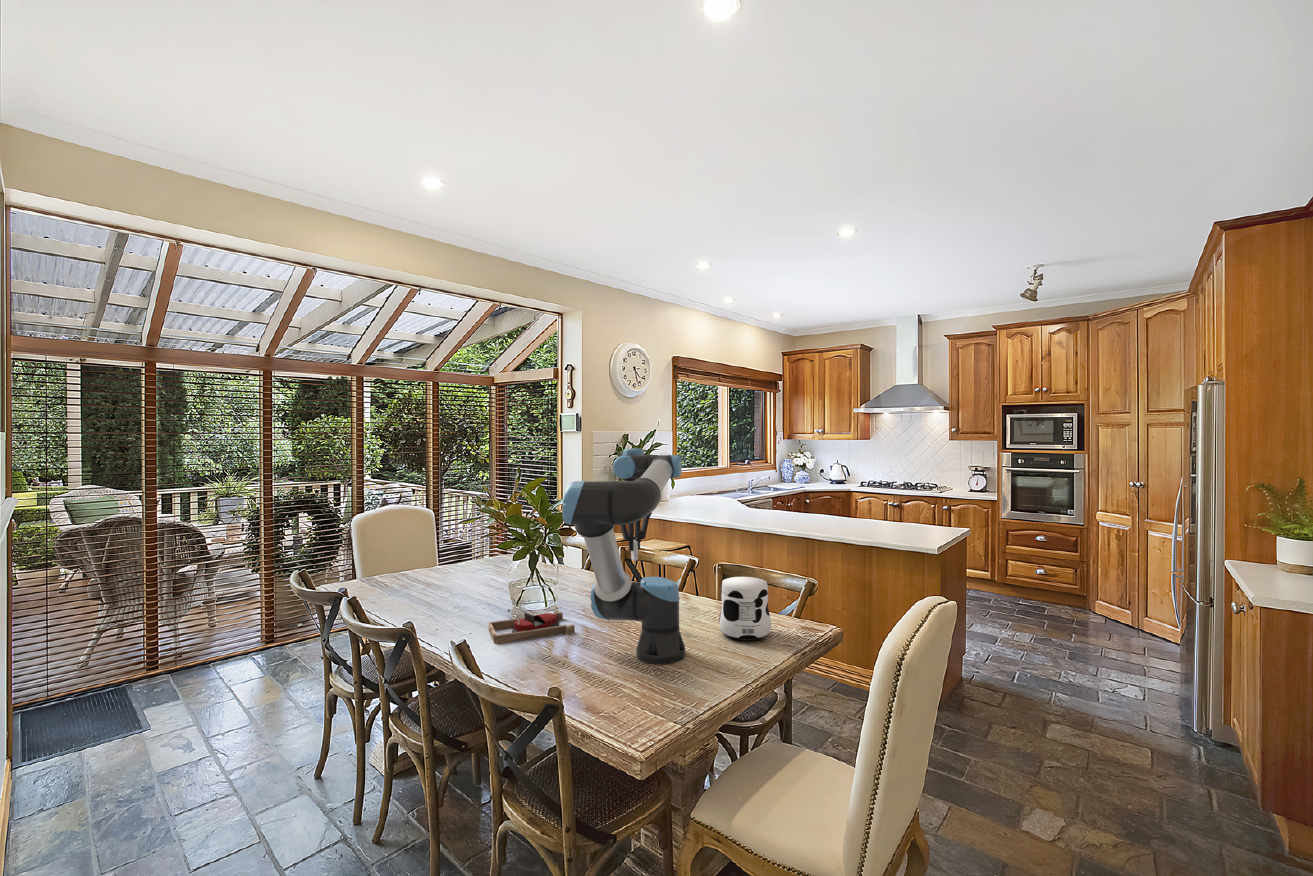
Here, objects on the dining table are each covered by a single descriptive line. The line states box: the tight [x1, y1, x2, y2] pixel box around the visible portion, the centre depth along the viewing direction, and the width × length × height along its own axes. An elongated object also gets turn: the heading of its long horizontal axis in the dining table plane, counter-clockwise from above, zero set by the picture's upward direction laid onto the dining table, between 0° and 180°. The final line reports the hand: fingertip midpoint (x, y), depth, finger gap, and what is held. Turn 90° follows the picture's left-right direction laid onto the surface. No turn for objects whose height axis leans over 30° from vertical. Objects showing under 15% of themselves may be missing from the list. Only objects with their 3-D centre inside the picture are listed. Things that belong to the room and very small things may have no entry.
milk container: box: [718, 576, 772, 641], centre depth 194 cm, size 17×17×18 cm
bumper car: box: [507, 608, 560, 633], centre depth 201 cm, size 10×20×10 cm, turn 138°
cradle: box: [488, 611, 576, 645], centre depth 201 cm, size 19×27×2 cm
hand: (634, 559), depth 202 cm, fingers closed
